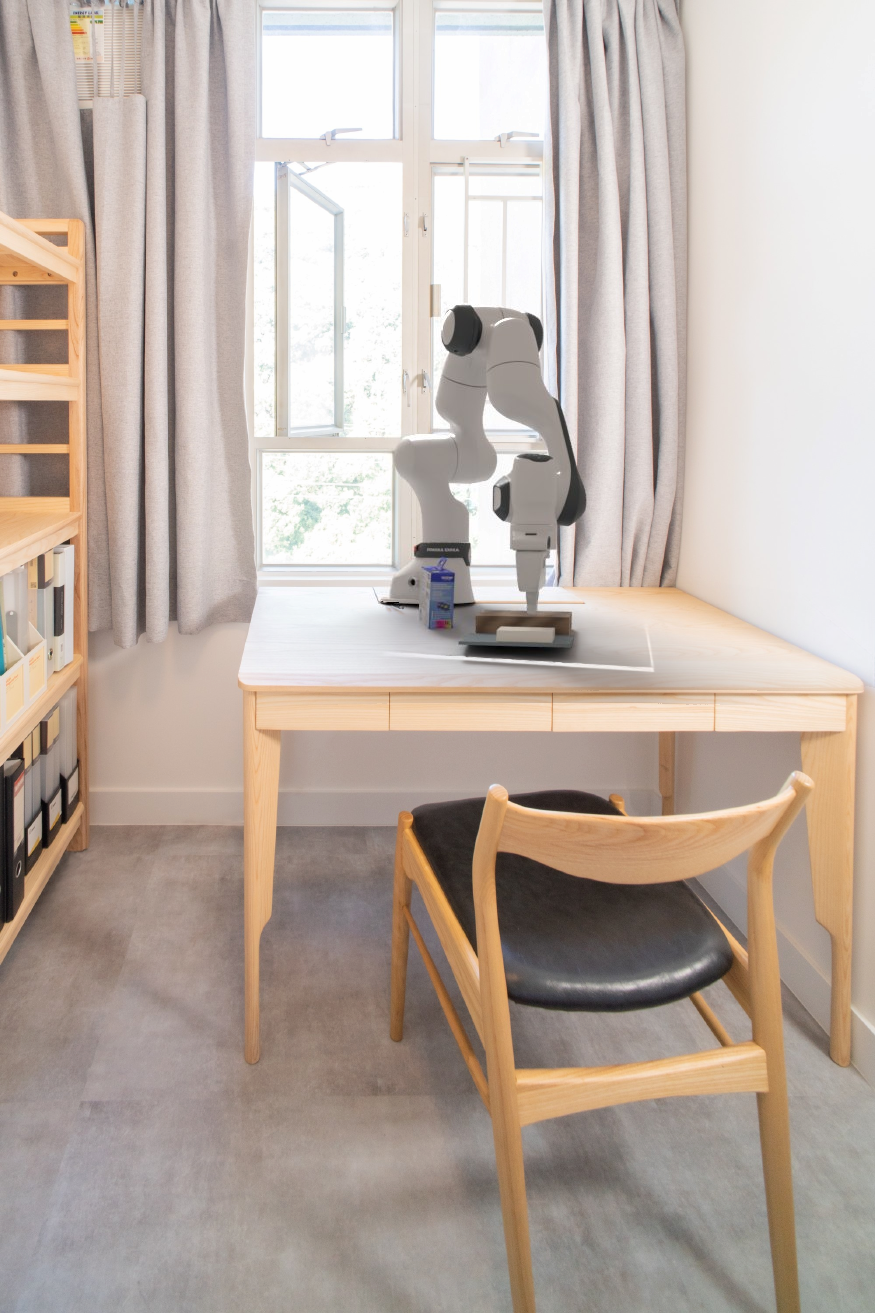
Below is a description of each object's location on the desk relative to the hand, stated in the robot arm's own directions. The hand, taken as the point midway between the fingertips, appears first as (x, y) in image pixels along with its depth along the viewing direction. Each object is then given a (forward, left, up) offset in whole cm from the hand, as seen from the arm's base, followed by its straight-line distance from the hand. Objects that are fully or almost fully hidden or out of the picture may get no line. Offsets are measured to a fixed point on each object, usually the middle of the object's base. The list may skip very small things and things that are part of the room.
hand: (532, 613), depth 181 cm
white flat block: (0, -9, -2) cm, 9 cm away
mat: (-2, -6, -5) cm, 8 cm away
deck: (-2, +8, -5) cm, 9 cm away
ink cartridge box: (-21, +13, -4) cm, 25 cm away
